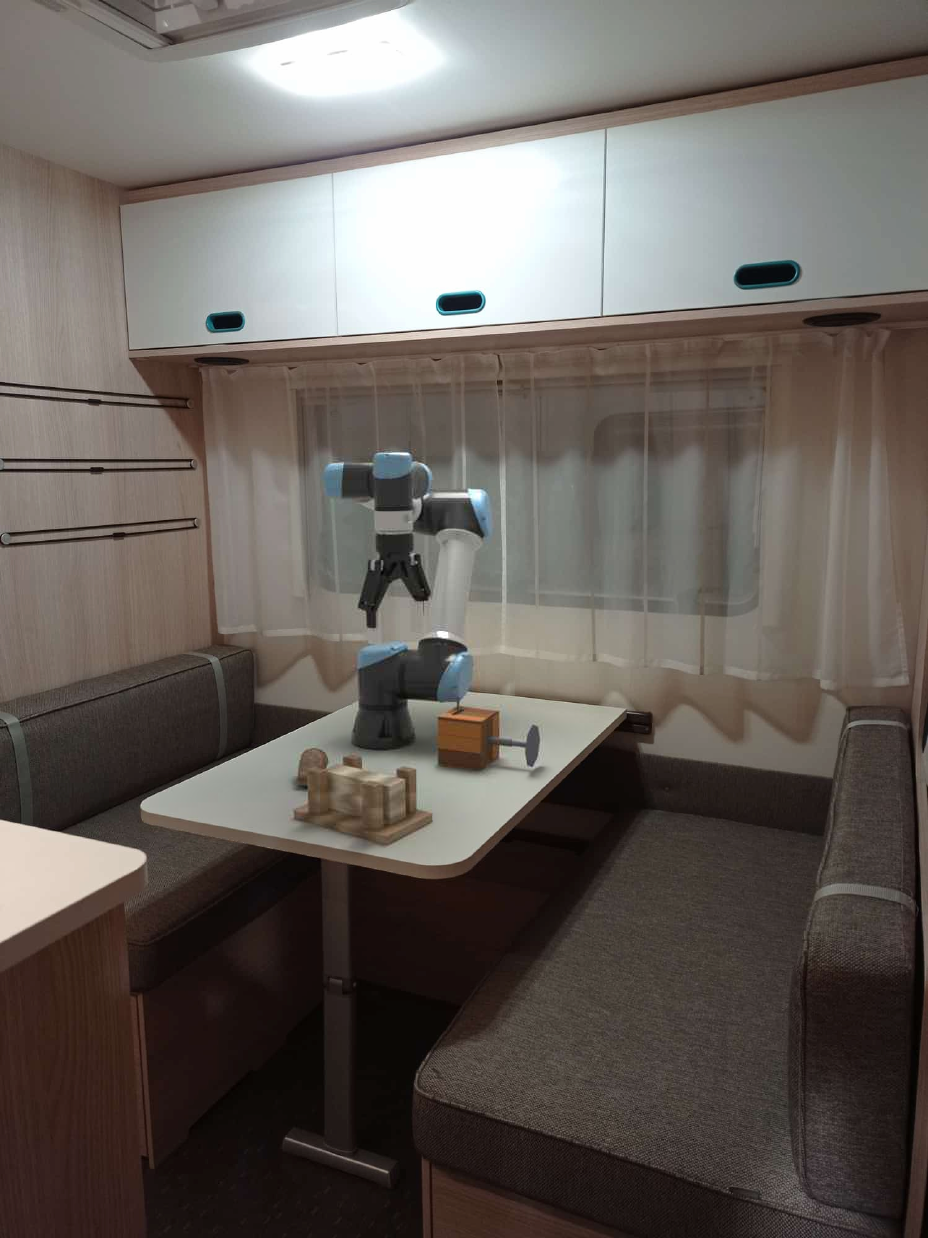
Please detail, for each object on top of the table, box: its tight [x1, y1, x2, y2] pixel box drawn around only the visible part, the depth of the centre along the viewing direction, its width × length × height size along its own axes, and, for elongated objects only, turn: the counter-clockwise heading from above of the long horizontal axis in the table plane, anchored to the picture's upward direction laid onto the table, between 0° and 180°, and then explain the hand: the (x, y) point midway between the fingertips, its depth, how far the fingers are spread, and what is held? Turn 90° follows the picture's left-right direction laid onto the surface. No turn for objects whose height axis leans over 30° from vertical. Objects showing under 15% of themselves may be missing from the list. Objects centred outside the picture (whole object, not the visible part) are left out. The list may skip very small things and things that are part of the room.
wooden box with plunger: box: [437, 696, 541, 772], centre depth 194 cm, size 11×20×14 cm, turn 65°
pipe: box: [295, 747, 329, 788], centre depth 182 cm, size 6×17×10 cm
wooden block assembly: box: [293, 753, 433, 846], centre depth 162 cm, size 22×13×10 cm, turn 55°
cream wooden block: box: [325, 763, 406, 825], centre depth 162 cm, size 16×4×7 cm, turn 56°
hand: (396, 638), depth 180 cm, fingers open, 13 cm apart
